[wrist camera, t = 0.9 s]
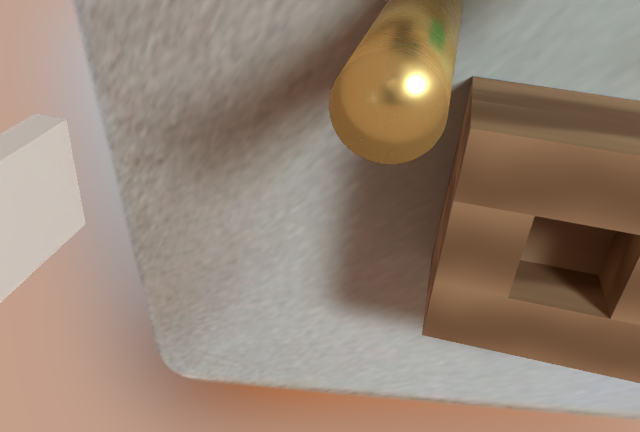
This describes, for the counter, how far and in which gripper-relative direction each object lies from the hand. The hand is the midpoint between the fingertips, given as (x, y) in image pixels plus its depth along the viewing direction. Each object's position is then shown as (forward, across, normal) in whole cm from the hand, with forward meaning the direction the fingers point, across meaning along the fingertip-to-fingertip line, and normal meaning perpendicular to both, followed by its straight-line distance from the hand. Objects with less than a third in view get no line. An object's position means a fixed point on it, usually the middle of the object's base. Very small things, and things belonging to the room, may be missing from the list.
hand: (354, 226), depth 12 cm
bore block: (+20, +9, -9) cm, 24 cm away
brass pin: (+20, 0, 0) cm, 20 cm away
